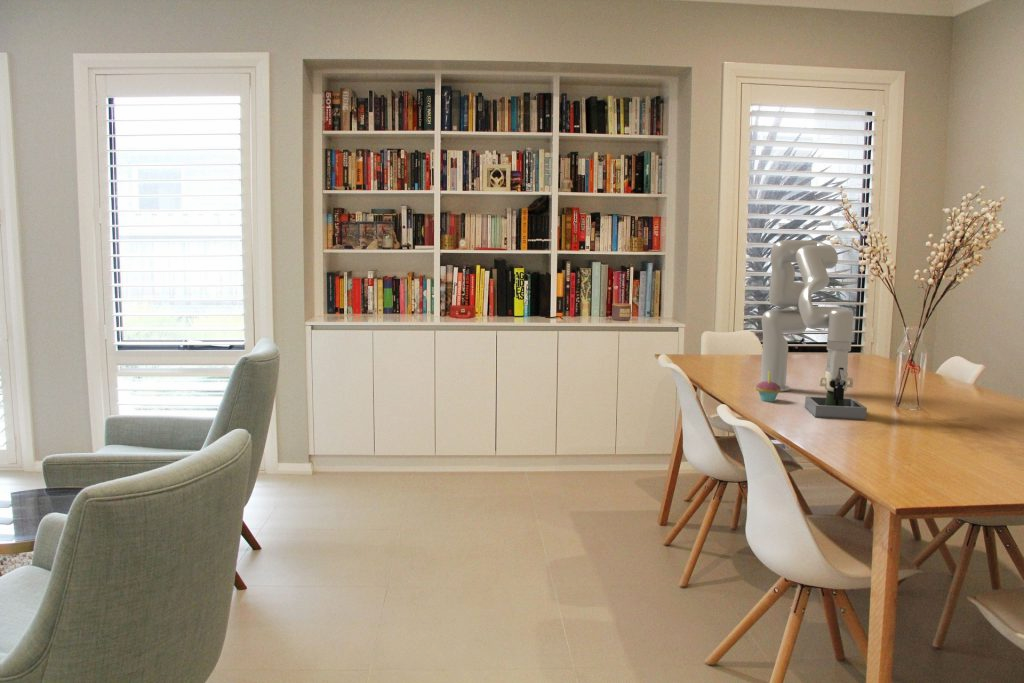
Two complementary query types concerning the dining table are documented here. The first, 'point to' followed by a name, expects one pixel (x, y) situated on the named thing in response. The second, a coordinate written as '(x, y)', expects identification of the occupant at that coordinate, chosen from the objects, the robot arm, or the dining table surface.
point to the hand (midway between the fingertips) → (835, 397)
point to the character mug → (830, 387)
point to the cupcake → (768, 390)
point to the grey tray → (835, 409)
